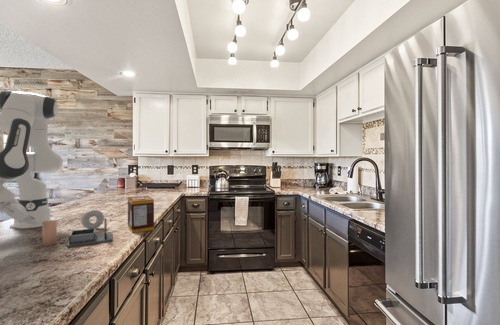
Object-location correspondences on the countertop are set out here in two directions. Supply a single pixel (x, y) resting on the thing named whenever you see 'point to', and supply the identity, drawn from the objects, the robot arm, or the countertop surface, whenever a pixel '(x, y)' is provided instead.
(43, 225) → the wooden block
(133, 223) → the supplement box
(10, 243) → the countertop surface
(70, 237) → the grey tape dispenser
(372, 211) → the countertop surface
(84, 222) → the grey ring
